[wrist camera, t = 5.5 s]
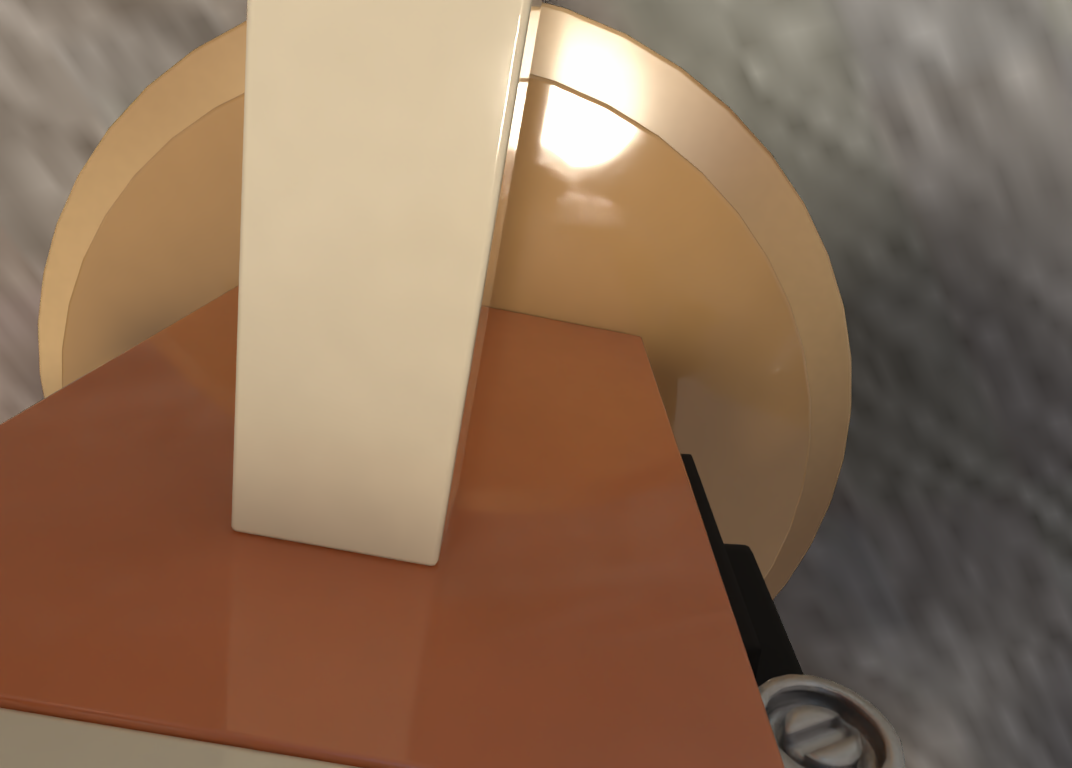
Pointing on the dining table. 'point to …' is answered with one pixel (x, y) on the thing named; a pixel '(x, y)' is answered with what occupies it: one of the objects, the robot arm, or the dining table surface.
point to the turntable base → (591, 68)
